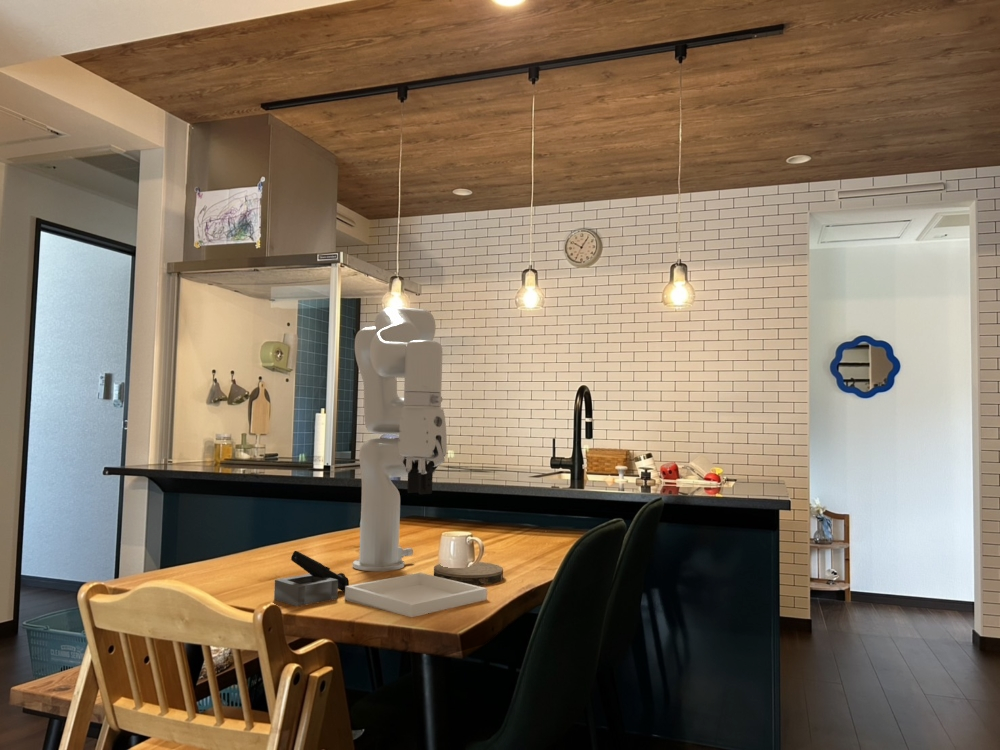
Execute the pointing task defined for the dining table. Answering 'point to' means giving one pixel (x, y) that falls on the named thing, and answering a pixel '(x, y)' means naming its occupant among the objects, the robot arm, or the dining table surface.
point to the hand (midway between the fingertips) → (419, 492)
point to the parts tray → (414, 594)
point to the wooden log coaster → (472, 573)
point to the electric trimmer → (319, 569)
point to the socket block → (305, 589)
